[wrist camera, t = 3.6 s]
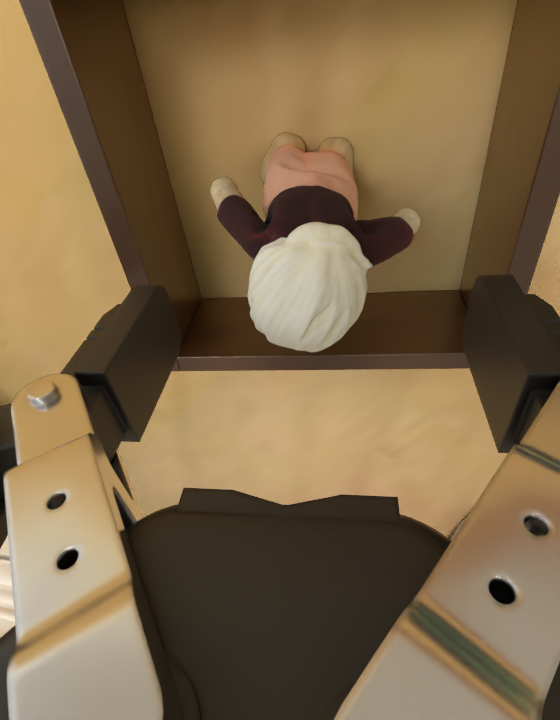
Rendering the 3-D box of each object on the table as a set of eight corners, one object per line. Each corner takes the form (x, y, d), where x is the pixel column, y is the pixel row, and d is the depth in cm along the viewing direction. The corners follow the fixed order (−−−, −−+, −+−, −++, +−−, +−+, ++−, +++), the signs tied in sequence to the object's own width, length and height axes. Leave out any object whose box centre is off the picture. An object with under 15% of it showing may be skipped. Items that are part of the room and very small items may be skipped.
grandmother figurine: (246, 211, 22) (175, 381, 12) (234, 129, 19) (134, 262, 10) (398, 204, 21) (450, 383, 11) (407, 116, 18) (484, 251, 9)
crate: (189, 312, 26) (162, 371, 22) (87, -34, 16) (1, -43, 12) (475, 303, 24) (503, 368, 20) (571, -112, 14) (674, -158, 9)
